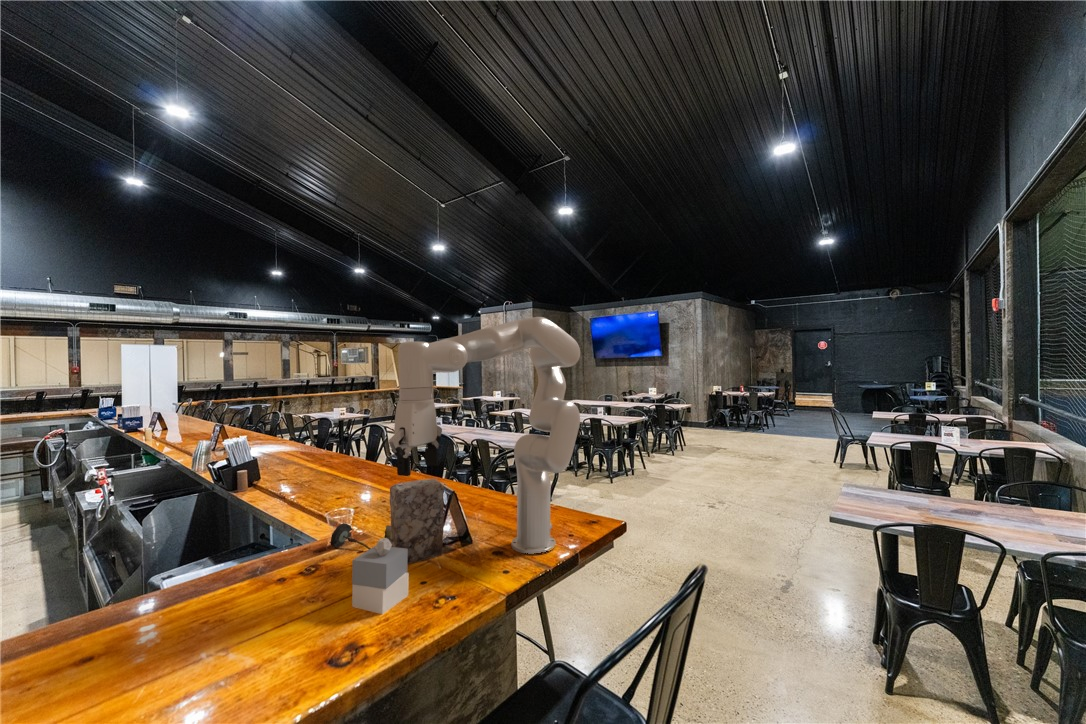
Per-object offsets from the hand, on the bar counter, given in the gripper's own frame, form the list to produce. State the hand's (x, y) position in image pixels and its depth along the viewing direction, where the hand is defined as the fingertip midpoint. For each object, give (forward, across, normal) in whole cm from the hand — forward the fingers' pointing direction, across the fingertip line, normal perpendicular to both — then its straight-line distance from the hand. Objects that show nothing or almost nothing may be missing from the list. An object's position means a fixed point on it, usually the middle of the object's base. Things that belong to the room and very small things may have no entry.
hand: (418, 470), depth 97 cm
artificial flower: (+27, -13, -26) cm, 40 cm away
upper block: (+22, +8, -4) cm, 23 cm away
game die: (+17, +7, -4) cm, 19 cm away
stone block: (+27, -12, -11) cm, 32 cm away
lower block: (+27, +8, -4) cm, 28 cm away
